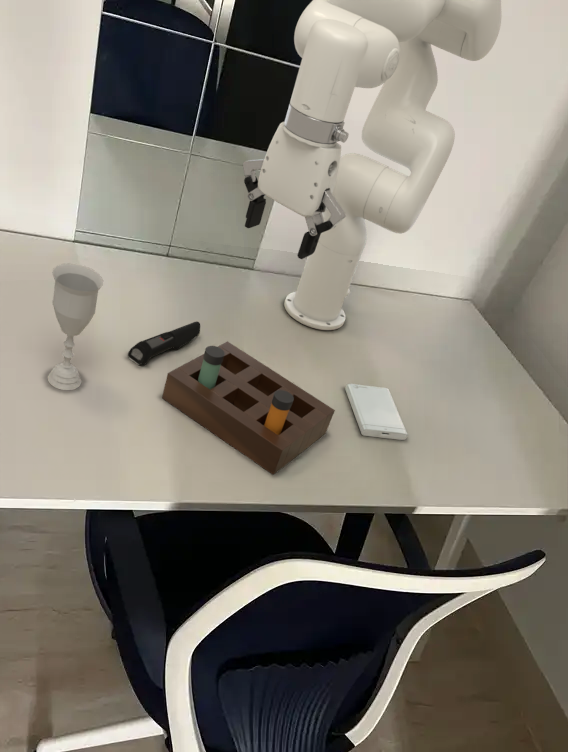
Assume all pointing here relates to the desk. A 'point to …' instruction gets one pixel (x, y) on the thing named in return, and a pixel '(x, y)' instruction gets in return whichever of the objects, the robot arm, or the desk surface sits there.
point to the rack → (248, 408)
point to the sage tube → (211, 366)
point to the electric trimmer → (163, 343)
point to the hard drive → (376, 412)
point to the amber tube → (278, 411)
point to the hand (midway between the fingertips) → (277, 240)
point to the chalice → (72, 315)
